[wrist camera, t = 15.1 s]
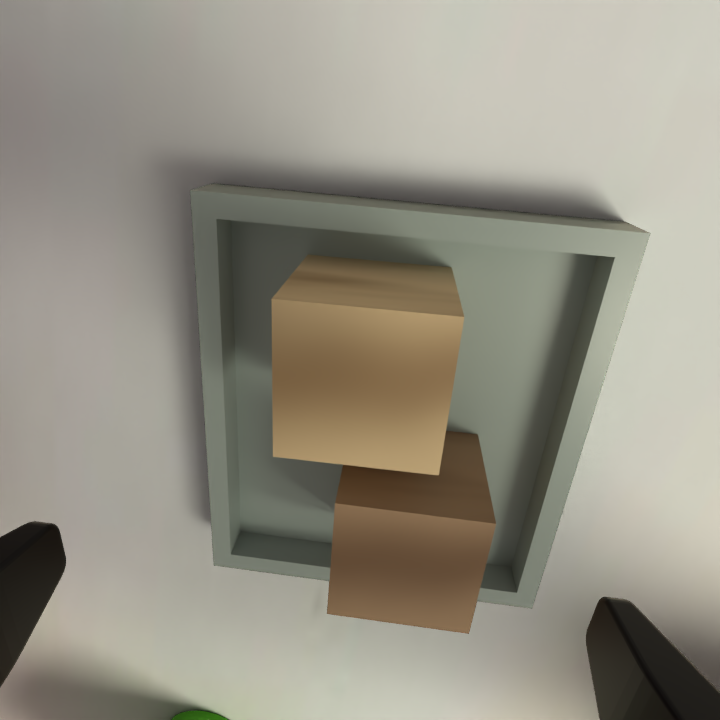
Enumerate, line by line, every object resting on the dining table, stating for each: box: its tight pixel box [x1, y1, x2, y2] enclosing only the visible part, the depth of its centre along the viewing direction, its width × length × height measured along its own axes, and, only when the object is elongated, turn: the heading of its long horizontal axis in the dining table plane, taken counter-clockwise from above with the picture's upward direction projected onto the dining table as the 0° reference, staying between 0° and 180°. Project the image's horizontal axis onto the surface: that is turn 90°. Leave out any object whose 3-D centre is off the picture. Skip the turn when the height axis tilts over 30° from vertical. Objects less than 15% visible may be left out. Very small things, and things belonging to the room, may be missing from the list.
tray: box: [190, 183, 650, 609], centre depth 20 cm, size 14×16×2 cm
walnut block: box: [327, 431, 496, 634], centre depth 19 cm, size 5×5×5 cm
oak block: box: [271, 255, 464, 475], centre depth 16 cm, size 5×5×5 cm
